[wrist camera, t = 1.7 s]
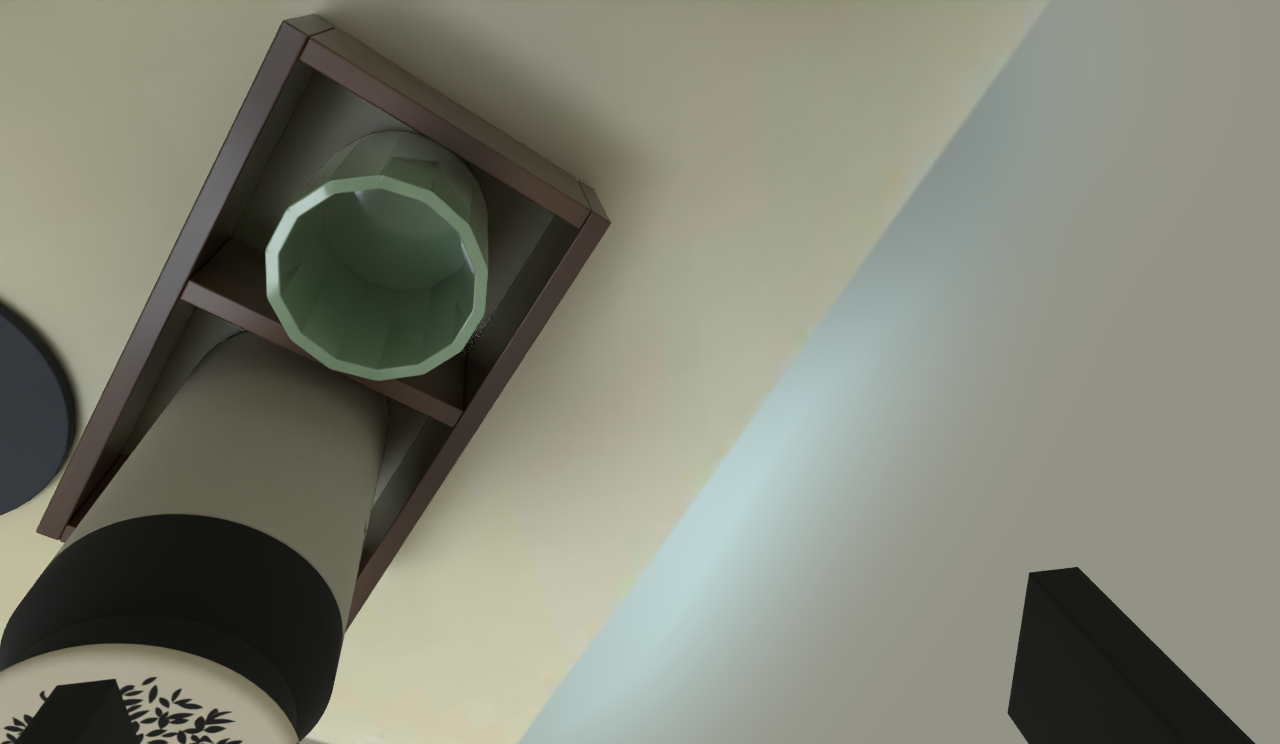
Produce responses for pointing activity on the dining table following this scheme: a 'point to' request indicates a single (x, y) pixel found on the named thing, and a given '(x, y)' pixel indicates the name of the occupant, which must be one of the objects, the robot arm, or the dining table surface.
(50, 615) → the travel mug
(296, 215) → the sage cup
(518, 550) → the dining table surface
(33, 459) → the slate coaster
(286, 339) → the cup holder
